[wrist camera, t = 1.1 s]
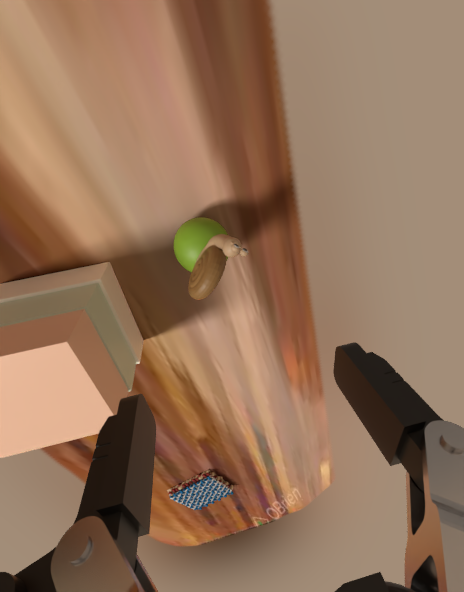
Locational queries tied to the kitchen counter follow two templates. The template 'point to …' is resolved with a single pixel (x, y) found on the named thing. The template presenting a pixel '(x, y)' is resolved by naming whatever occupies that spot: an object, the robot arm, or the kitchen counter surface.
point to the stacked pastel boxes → (63, 356)
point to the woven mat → (200, 490)
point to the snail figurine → (204, 253)
